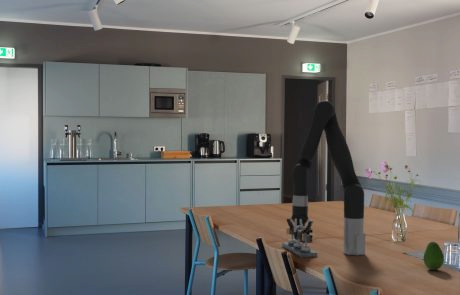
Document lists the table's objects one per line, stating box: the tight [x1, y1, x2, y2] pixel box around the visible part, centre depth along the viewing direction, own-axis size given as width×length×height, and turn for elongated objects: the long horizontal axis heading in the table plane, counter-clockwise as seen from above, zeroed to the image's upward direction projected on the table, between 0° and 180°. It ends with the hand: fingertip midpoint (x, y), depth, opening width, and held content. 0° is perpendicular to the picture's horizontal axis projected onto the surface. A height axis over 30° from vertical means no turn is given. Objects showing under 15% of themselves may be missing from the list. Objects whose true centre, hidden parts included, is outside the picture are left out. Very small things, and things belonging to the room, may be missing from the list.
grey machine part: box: [298, 225, 314, 242], centre depth 300 cm, size 10×7×7 cm
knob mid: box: [294, 230, 305, 248], centre depth 268 cm, size 6×4×8 cm
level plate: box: [281, 241, 318, 259], centre depth 268 cm, size 26×8×3 cm, turn 14°
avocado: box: [423, 241, 445, 271], centre depth 233 cm, size 8×8×12 cm
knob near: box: [301, 234, 312, 251], centre depth 260 cm, size 6×4×8 cm
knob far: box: [286, 227, 299, 244], centre depth 277 cm, size 6×4×8 cm
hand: (299, 239), depth 270 cm, fingers closed on knob mid, 2 cm apart
